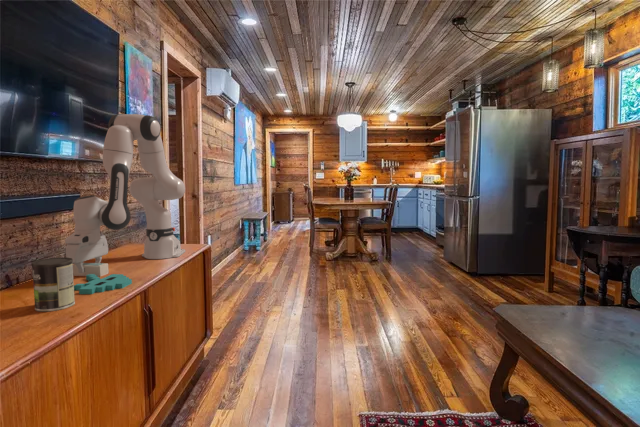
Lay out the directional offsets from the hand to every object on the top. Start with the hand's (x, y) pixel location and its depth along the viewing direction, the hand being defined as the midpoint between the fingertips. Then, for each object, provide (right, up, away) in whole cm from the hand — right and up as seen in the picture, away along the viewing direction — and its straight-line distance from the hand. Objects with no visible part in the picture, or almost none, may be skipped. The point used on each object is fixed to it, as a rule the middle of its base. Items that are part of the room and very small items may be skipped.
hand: (89, 269), depth 155 cm
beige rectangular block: (0, -2, +1) cm, 2 cm away
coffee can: (+12, -6, -38) cm, 40 cm away
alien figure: (+13, -4, -16) cm, 21 cm away
